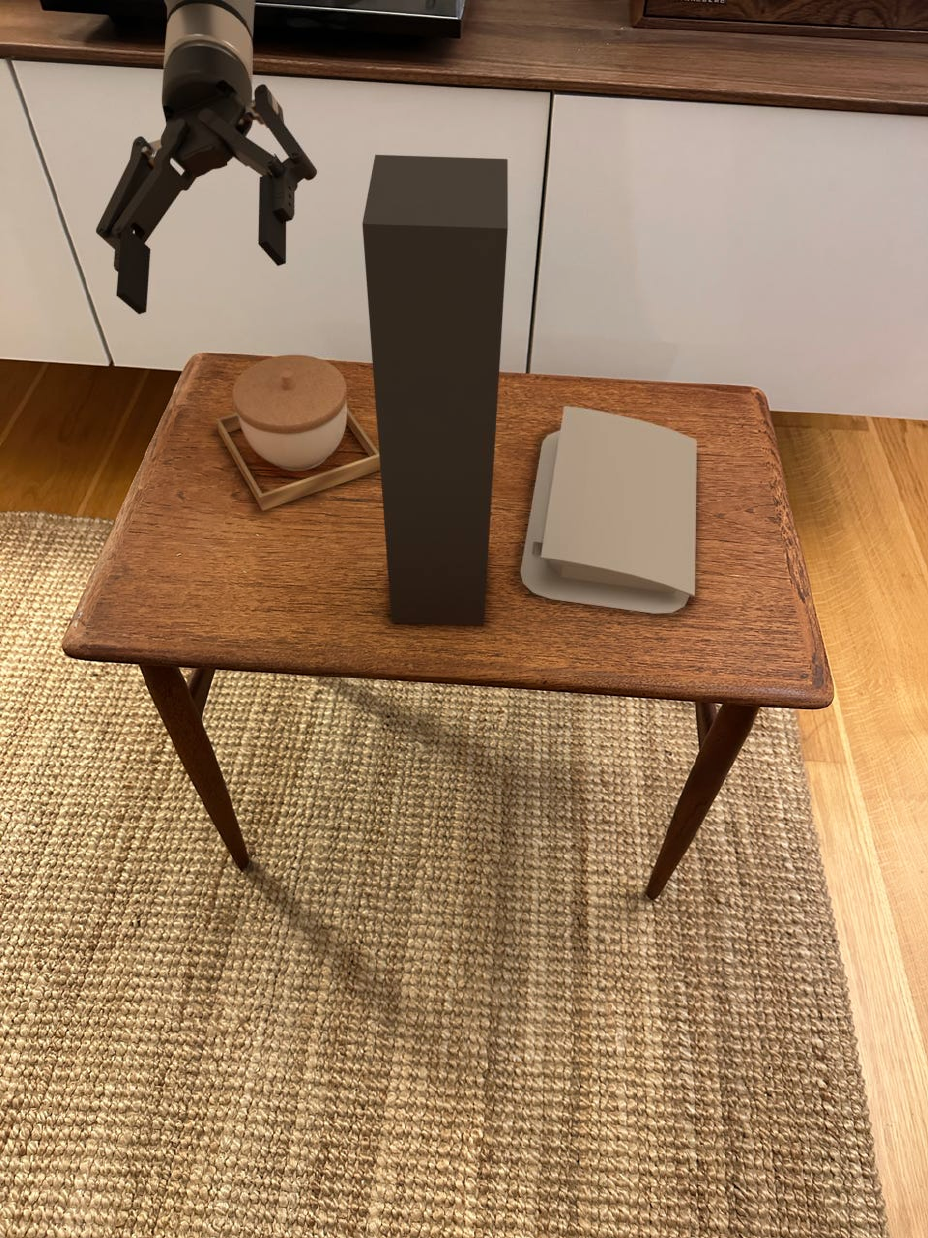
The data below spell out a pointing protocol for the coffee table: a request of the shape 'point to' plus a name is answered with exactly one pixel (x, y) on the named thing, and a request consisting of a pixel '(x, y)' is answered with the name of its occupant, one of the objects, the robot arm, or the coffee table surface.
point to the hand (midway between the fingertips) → (199, 280)
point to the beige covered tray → (613, 514)
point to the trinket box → (292, 410)
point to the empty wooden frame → (310, 483)
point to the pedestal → (436, 373)
